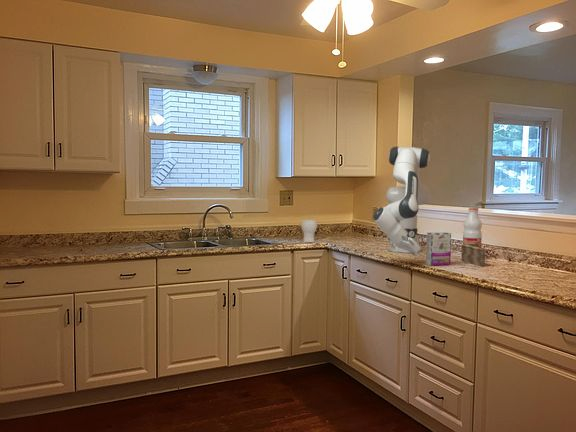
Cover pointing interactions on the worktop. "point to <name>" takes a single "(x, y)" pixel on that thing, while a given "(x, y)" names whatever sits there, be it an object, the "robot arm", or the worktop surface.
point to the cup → (308, 230)
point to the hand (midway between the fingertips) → (416, 254)
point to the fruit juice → (472, 229)
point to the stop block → (473, 255)
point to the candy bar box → (438, 248)
